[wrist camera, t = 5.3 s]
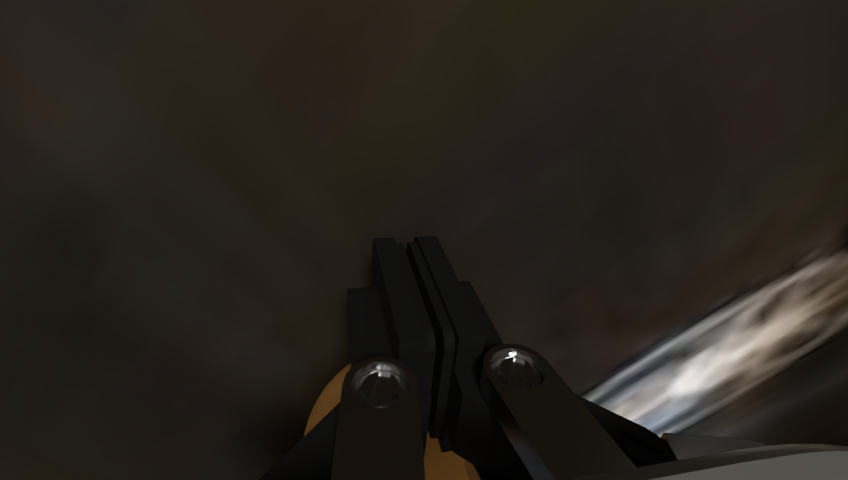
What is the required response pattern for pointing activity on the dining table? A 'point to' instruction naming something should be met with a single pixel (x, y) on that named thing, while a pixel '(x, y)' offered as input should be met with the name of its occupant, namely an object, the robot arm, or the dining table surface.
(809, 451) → the robot arm
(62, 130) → the dining table surface
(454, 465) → the ball
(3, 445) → the dining table surface
